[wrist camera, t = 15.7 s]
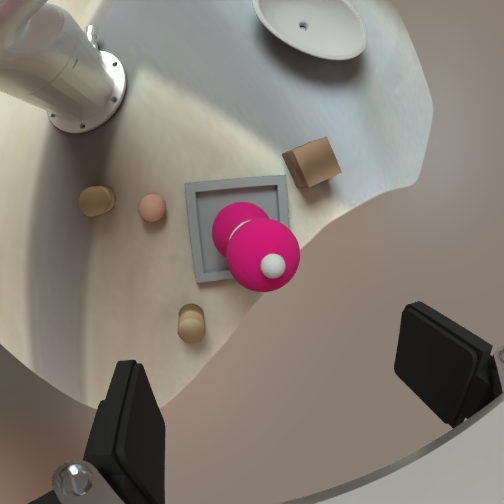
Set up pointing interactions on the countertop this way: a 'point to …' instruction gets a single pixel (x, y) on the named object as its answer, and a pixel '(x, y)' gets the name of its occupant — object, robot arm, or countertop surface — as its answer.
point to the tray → (218, 197)
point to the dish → (315, 26)
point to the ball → (151, 207)
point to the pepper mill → (255, 247)
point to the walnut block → (312, 163)
